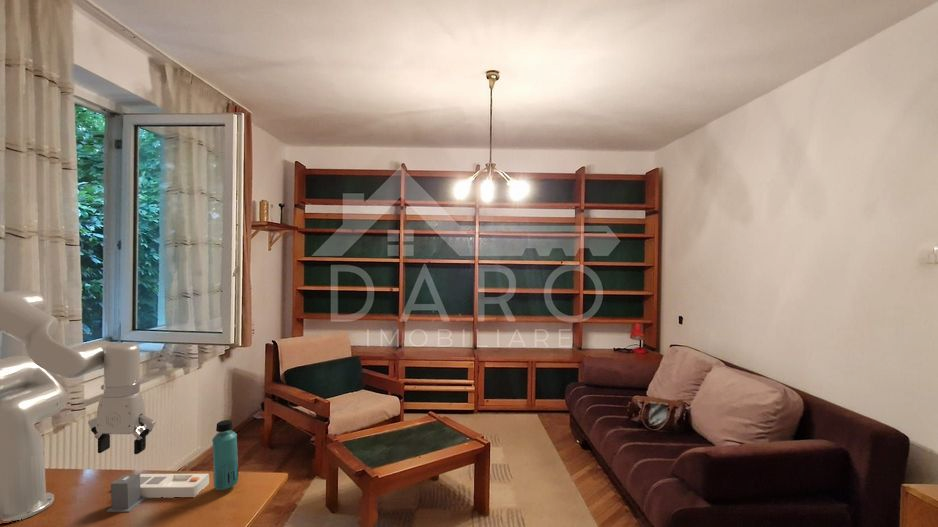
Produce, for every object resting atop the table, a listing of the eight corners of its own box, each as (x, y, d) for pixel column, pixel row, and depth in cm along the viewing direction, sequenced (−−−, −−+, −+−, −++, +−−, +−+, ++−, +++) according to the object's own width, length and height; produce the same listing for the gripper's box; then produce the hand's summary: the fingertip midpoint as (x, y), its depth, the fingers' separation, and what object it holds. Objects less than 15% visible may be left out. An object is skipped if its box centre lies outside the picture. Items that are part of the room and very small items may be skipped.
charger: (124, 498, 117) (123, 473, 117) (140, 498, 117) (139, 473, 117) (111, 508, 113) (110, 482, 113) (128, 508, 113) (127, 482, 113)
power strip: (101, 497, 118) (100, 485, 118) (121, 483, 125) (121, 472, 125) (194, 497, 119) (193, 485, 119) (209, 483, 126) (208, 471, 126)
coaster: (106, 512, 112) (106, 510, 112) (124, 498, 118) (124, 497, 118) (129, 512, 112) (129, 510, 112) (146, 498, 118) (146, 497, 118)
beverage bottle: (227, 496, 119) (225, 427, 118) (207, 493, 121) (205, 425, 120) (244, 483, 126) (242, 418, 125) (225, 481, 127) (223, 416, 126)
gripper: (77, 393, 110) (77, 457, 111) (143, 395, 110) (143, 459, 111) (101, 383, 117) (101, 443, 118) (164, 386, 118) (163, 445, 118)
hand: (121, 451), depth 114 cm, fingers open, 9 cm apart
